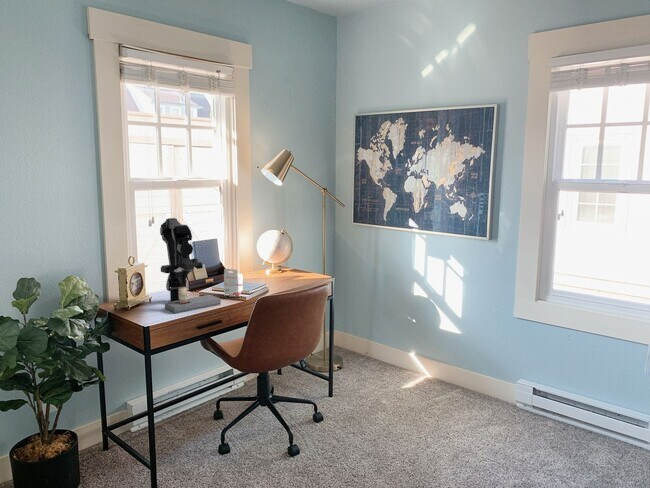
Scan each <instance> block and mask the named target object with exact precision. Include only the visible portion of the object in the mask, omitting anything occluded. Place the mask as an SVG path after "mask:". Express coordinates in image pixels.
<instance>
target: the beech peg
mask: <svg viewBox="0 0 650 488" xmlns="http://www.w3.org/2000/svg"><path fill="white" fill-rule="evenodd" d="M178 292H179V303H180V305H182V304H187V303H188V299H189V298H188V287H187V286H186V287H180V288H178Z"/></svg>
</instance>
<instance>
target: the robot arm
mask: <svg viewBox="0 0 650 488" xmlns="http://www.w3.org/2000/svg"><path fill="white" fill-rule="evenodd" d="M191 230H192V229H190V227H189V225H188V224H182V223H180V222H179V221H178V219H177V217H173V218H168V217H167V218H166V219H165V221H164V222H163V223H161V225H160V228H159V233H160V236H161V239H162V241H163V242H164V243H165V244H166V251H167V257H168V264H164V265H163V264H162V265H161V266H160V272H161V273H164V274H168V276H167V279H166V283H165V288H166V290H167V291H168V292H169V295H170V296H169V301H167V303H168V302H173V301H179V292H178V288H180V287H187V282H188V280H187V277H188V275H189V273H190V272H192V271H194V270H195V269H196V270H198V269H199V270H200V269H203V268H204V264H203V262H201V261H199V259H198V258H197V257H195V258H191V257H190V255H191V254H192V253H193V252H194V247H193V245H192V244H191V243H190V242H191V241H192V240H193V234H192V231H191ZM189 241H190V242H189Z"/></svg>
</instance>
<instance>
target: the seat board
mask: <svg viewBox="0 0 650 488" xmlns="http://www.w3.org/2000/svg"><path fill="white" fill-rule="evenodd" d="M221 303H222V301H221V298H220V297H218V296H214V295H211V294H207V295H202V296H201V295H200V296H195V297H190V298H188V303H187V304H182V305H180V303H179V301H173V302H168V301H167V302H165V303H164V310H165V311H168V312H170V313H172V314H175V315H176V314H182V313H187V312H191V311H196V310H201V309H205V308H209V307H215V306H220V305H221Z"/></svg>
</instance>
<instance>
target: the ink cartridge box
mask: <svg viewBox="0 0 650 488" xmlns="http://www.w3.org/2000/svg"><path fill="white" fill-rule="evenodd" d="M243 277H244V276H243V273H239V270H238V269H234V268H224V271H223V285H224V286H223V287H224V288H223V290H224V293H225V294H229V295H235V296H239V295H240V294H241V293H242V291H243V292H244V284H243V281H244V279H243ZM225 294H224V295H225Z"/></svg>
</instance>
